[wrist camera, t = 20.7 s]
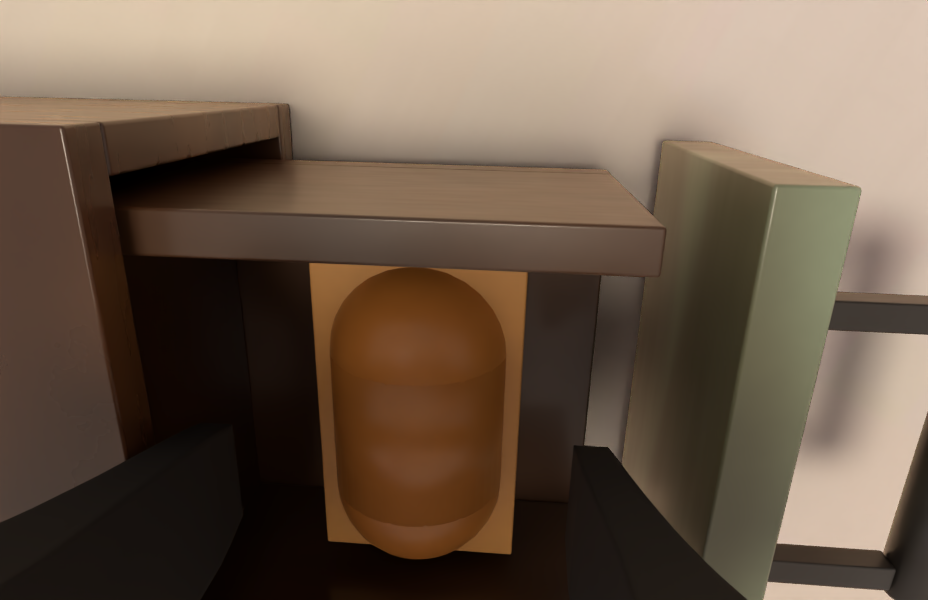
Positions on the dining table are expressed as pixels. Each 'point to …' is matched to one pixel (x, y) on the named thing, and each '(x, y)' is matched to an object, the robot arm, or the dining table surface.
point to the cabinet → (87, 274)
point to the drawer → (544, 355)
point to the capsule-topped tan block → (419, 405)
